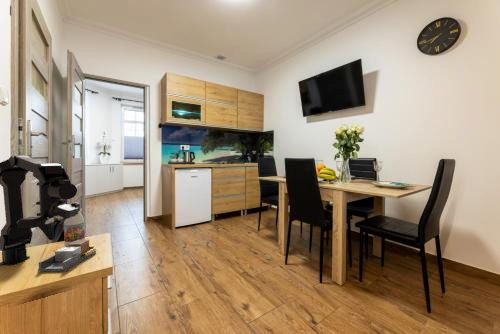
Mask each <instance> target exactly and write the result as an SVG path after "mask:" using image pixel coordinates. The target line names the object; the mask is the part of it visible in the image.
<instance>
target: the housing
mask: <svg viewBox="0 0 500 334" xmlns="http://www.w3.org/2000/svg"><path fill="white" fill-rule="evenodd" d="M89 246H90V239H85V240H76V241H74V242H72V243H70V244H68V247H81V255H83V254H84V253H86V252H87V251H89Z"/></svg>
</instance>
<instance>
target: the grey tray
mask: <svg viewBox="0 0 500 334" xmlns="http://www.w3.org/2000/svg"><path fill="white" fill-rule="evenodd" d="M96 253H97V249H96V247H95V245H89V251H87V252H86V253H84V254H83V255H81V257H80V253H78V254H76V255H74V256H73V257H71V258H69V259H67V260H65V261H55V254H52V255H51V256H49V257H47V258H45V259H43V260H40V261H39V262H38V269H37V272H38V273H56V272H58V273H60V272H61V273H62V272H67V271H69V270H70V269H73V268H74V267H76V266H77V265H79V264H80V263H82V262H84V261H85V260H87V259H88V258H89V259H90V257H92V256H94V255H95V254H96Z"/></svg>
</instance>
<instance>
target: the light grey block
mask: <svg viewBox="0 0 500 334" xmlns="http://www.w3.org/2000/svg"><path fill="white" fill-rule="evenodd" d="M78 253H80V257H81V247H65V246H63V247H60V248H59V249H57V250H55V251H54V255H55V261H65V260H67V259H69V258H71V257H73V256H74V255H76V254H78Z"/></svg>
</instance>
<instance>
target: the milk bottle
mask: <svg viewBox="0 0 500 334" xmlns="http://www.w3.org/2000/svg"><path fill="white" fill-rule="evenodd" d="M63 222H64V223H63V232H64V233H63V234H64V236H63V237H64V239H63V240H64V242H63V243H64V247H68V244H70V243H72V242H74V241H76V240H86V239H85V237H86V233H85V229H86V228H85V218H84V216H83V215H82V213H81V210H80V211H78V214H77V215H76V216H73V217H70V218H68V219H66V220H65V221H63Z"/></svg>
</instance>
